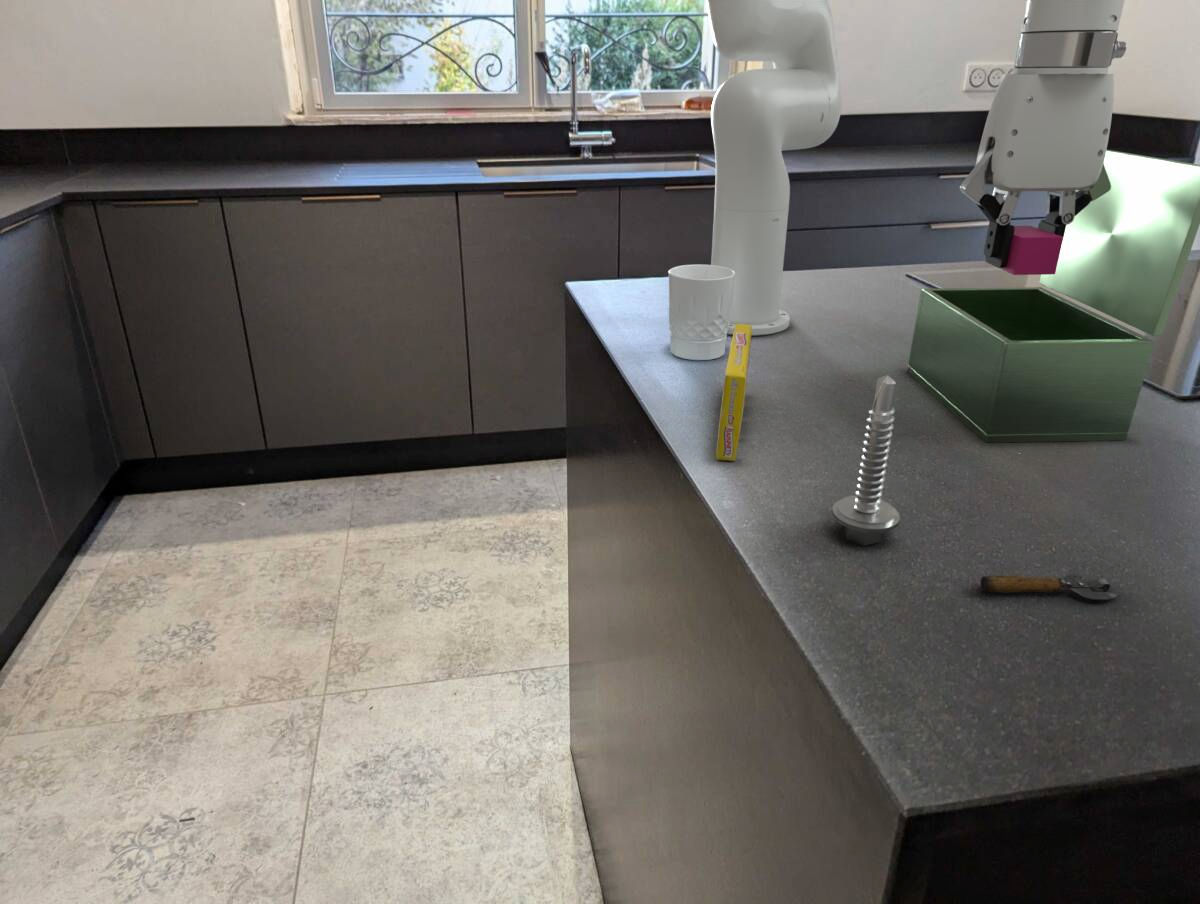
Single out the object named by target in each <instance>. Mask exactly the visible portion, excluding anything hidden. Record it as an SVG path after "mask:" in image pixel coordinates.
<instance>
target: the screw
mask: <svg viewBox="0 0 1200 904" xmlns="http://www.w3.org/2000/svg"><path fill="white" fill-rule="evenodd" d="M896 386H897V382H895V380H894V379H893V378H891V376H890V375H888V374H886V375H884V376H882V377H879V378H877V381H876V387H875V394H874V400H873V403H872V408H871V409H870V410H868V413H869V417H867V418H866V421H867V422H868V424H867V425H865V429H866V430H867V431H866V432H865V433H864V437H866V439H865V440H863V442H862V443H863V444H864V445H865V446H864V447H863V448H862V449H861V450H862V452H863V454H862V455H861V456H860V458H861V459H862V461H861V462H860V463H859V466H860V467H861V469H859V470H858V473H859V474H860V476H858V477H857V480H858V481H859V483H857V484H856V488H858V490H856V491H855V494H856V495H850V496H849V495H848V496H845V497H843V498H841V499H839V500H837V501H836V502H835V503H833V506H832V509H831V515H832V517H833V519H834V520H835V521H836V522H837V523H839V524H840V525H842V526H844V532H845V533H844V534H845V537H846V540H847V541H850V542H853V543H855V544H858V545H861V546H863V547H864V546H869V545H874V544H878V543H881V539H882V533H887V532H891V531H892V530H894V529H896V528H897V527H898V526H899V525H900V522H901V521H900V520H901V515H900V513H899V512H898V510H897V509H896V508H894V506H893V505H892V504H891V503H889V502H887V501H885V500H883V499H882V497H881V496H882V495H883V490H882V489H884V486H885V485H884V481H885V480H886V477H885V474H887V469H886V467H888V461H887V460H888V459H889V457H890V456H889V455H890V454H888V453H889V452H890V450H891V448H890V446H889V445H891V443H892V440H891V437H892V436H893V432H892V430H894V427H895V426H894V424H893V422H894V421H895V419H896V418H895V416H894V415H893V414H894V413H895V412H896V409H895V408H894V406H893V405H894V404H893V403H894V397H895V392H896Z"/></svg>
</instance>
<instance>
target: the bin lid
mask: <svg viewBox="0 0 1200 904" xmlns="http://www.w3.org/2000/svg"><path fill="white" fill-rule="evenodd" d="M1103 164H1104V167H1105V169H1106V172H1107V175H1108V177H1109V180H1110V183H1111V189H1110V191H1108V192H1107V193H1105V194H1104V195H1102V196H1100V197H1099V198H1097V199H1095V200H1094V201H1091V202H1090V203H1089V204H1088V205H1087V206H1086V207H1085V208H1084V209H1083V210H1082V211H1080V212H1079V213H1078V214H1077V215H1076V216H1075V218H1074V220H1073V222H1072V223H1070V224H1068V225H1066V229H1065V233H1064V237H1063V242H1062V246H1061V251H1060V255H1059V259H1058V263H1057V268H1056V272H1055V274H1043V275H1040V278H1039V282H1038V283H1039V284H1041V285H1042V286H1044V287H1047V288H1049V289H1051V290H1054V291H1056V292H1057V293H1060V294H1062V295H1063V296H1067V297H1068V298H1070V299H1073V300H1075V301H1077V302H1079V303H1081V304H1084V305H1085V306H1087V307H1090V308H1092V309H1095V310H1096V311H1098V312H1100V313H1103V314H1104V315H1107V316H1109V317H1112V318H1113V319H1115V320H1118V321H1119V322H1122V323H1124V324H1126V325H1128V326H1131V327H1132V328H1135V329H1137V330H1140V331H1141V332H1143V333H1146V334H1148V335H1149V336H1151V337H1161V336H1162V335H1163V332H1164V330H1165V326H1166V323H1167V321H1168V317H1169V315H1170V311H1171V309H1172V306H1173V303H1174V301H1175V297H1176V294H1177V291H1178V289H1179V286H1180V283H1181V280H1182V277H1183V273H1184V271H1185V268H1186V265H1187V263H1188V259H1189V256H1190V254H1191V251H1192V248H1193V246H1194V242H1195V240H1196V237H1197V233H1198V231H1199V228H1200V164H1196V163H1190V162H1184V161H1178V160H1172V159H1165V158H1161V157H1155V156H1148V155H1143V154H1142V155H1141V154H1136V153H1130V152H1123V151H1117V150H1111V149H1106V154H1105V159H1104V163H1103ZM1078 191H1079V190H1076V192H1078Z"/></svg>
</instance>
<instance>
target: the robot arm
mask: <svg viewBox="0 0 1200 904" xmlns="http://www.w3.org/2000/svg"><path fill="white" fill-rule="evenodd" d="M1025 1H1026V2H1025V6H1024V11H1023V12H1024V13H1023V17H1022V22H1021V27H1020V34H1019V39H1018V44H1017V50H1016V55H1015V58H1014V60H1015V61H1014V65H1013V71H1012V73H1003V74H1002V76H1001V79H1000V81H999V83H998V86H997V87H996V88H997V89H996V92H995V93H994V97H993V99H992V102H991V106H990V108H989V110H988V114H987V117H986V121H985V124H984V128H983V132H982V135H981V140H980V144H979V147H978V150H977V155H976V160H975V166H974V167H973V169H972V170H971V171H970V172H969V173H968V175H967V176H966V177H965V178H964V180H963V181H962V183H960V186H959V191H960V192H961V194H963V195H964V196H966V197H967V198H968V199H970V200H971V201H972V202H974V203H975V205H976V206H977V207H978V208H979V210H980V211H981V212H982V214H983V215H984V218H985V220H986V221H989V222H988V226H987V232H986V233H987V234H986V237H985V243H984V249H983V255H984V256H986V257H984V262H985V261H986V262H985V263H986V264H989V265H991V266H993V267H996V268H998V269H1000V268H1004V267H1005V266H1006V265H1007V262H1008V257H1009V252H1010V247H1011V242H1012V237H1013V234H1014V230H1015V228H1014V226H1015V225H1012V224H1011V220H1012V217H1013V216H1014V213H1015V210H1016V208H1017V205H1018V202H1019V199H1020V197H1021V195H1022V192H1046V214H1045V215H1046V216H1045V219H1040V221H1039V222H1038V224H1037V228H1039V229H1042V230H1045V231H1048V232H1050V233H1053V234H1056V235H1059V236H1062V237H1064V233H1065V229H1066V225H1068V224H1070V223H1072V222H1073V220H1074V218H1075V216H1076V215H1077V214H1078V213H1079V212H1080V211H1082V210H1083V209H1084V208H1085V207H1086V206H1087V205H1088V204H1089V203H1090V202H1091V201H1094V200H1095V199H1097V198H1099V197H1100V196H1102V195H1104V194H1105V193H1107V192H1108V191H1110V189H1111V183H1110V180H1109V177H1108V175H1107V172H1106V169H1105V167H1104V164H1103V163H1104V159H1105V154H1106V150H1108V149H1107V148H1108V144H1109V138H1110V133H1111V126H1112V118H1113V116H1112V115H1113V109H1114V108H1113V107H1114V92H1115V91H1114V90H1115V85H1114V84H1115V79H1114V77H1115V75H1114V73H1109V67H1111V66H1112V62H1113V60H1114V59H1121V58H1122V57H1124V55H1125V54H1126V51H1127V42H1126V41H1118V36H1119V33H1118V30H1119V27H1120V21H1121V17H1122V13H1123V9H1124V6H1125V0H1025ZM706 8H707V15H708V21H709V28H710V33H711V38H712V41H713V45H714V47H715V49H716V51H717V52H718V53H719V55H720V56H722V57H724V58H726V59H728V60H731V61H736V62H767V63H768V62H771V63H772V66H773V68H756V69H755V68H754V69H747V70H743V71H740V72H736V73H734V74H733V75H731V76H729V78H727V79H726V80H724V82H722V84H721V85H720V86H719V87H718V89H717V91H716V93H715V95H714V97H713V100H712V104H711V110H710V125H711V132H712V139H713V148H714V149H713V150H714V160H715V162H714V163H715V165H714V166H715V179H714V181H715V182H714V201H713V202H714V203H713V206H714V207H713V223H712V242H711V243H712V244H711V259H710V265H716V266H722V267H726V268H729V269H732V270H733V271H734V272H735V281H734V289H733V298H732V308H731V313H730V322H729V329H728V333H727V335H732V336H733V333H734V329H735V325H736V324H744V325H751V326H752V332H751V337H752V336H766V335H774V334H777V333H781V332H783V331H785V330H786V329H787V328H789V326H790V324H791V323H790V322H791V316H790V315H789V314H788V312H786V311H785V310H783V309H780V305H781V297H782V296H781V294H782V286H783V285H782V284H783V273H784V262H785V253H786V243H787V242H786V241H787V233H788V221H789V220H788V219H789V213H790V212H789V211H790V200H791V199H790V197H791V184H790V177H789V172H788V169H787V166H786V164H785V160H784V157H783V151H797V150H805V149H811V148H815V147H818V146H820V145H822V144H823V143H825V142H827V140H829V138H831V137H832V135H833V134H834V132H835V131H836V129H837V127H838V125H839V121H840V118H841V114H842V103H843V101H842V100H843V99H842V87H841V78H840V77H841V76H840V70H839V61H838V53H837V45H836V36H835V28H834V21H833V15H832V10H831V7H830V4H829V1H828V0H706ZM984 186H986V187H994V189H993V191H992V194H991V193H989V192H988V190H986V189H985V187H984ZM1076 190H1079V191H1078V192H1076ZM1060 251H1061V250H1060Z"/></svg>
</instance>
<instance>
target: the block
mask: <svg viewBox="0 0 1200 904" xmlns="http://www.w3.org/2000/svg"><path fill="white" fill-rule="evenodd" d="M1013 226H1014V228H1015V230H1014V234H1013V237H1012V242H1011V247H1010V252H1009V257H1008V262H1007V265H1006V266H1005V267H1004V268H999V269H1000V270H1002V271H1004V272H1007V273H1009V274H1011V275H1012V276H1030V275H1031V276H1035V275H1040V276H1041V275H1043V274H1055V272H1056V268H1057V263H1058V259H1059V255H1060V250H1061V246H1062V242H1063V237H1062V236H1059V235H1056V234H1053V233H1050V232H1048V231H1045V230H1042V229H1039V228H1038V227H1036V226H1033V225H1013ZM984 256H985V255H984ZM985 257H986V256H985ZM985 257H984V258H985ZM984 262H985V263H987V262H986V261H985V260H984Z"/></svg>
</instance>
